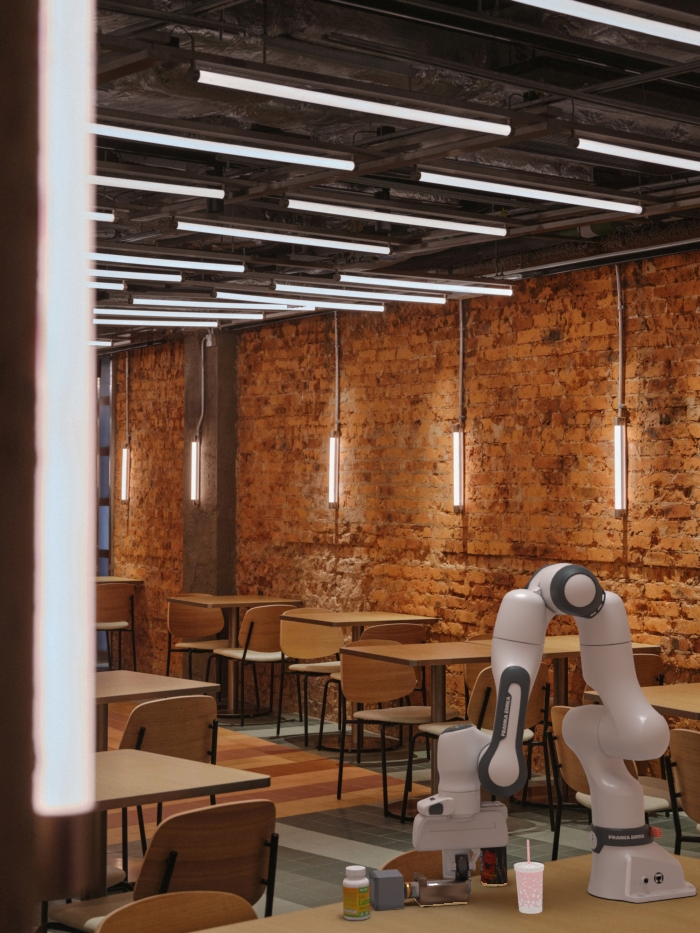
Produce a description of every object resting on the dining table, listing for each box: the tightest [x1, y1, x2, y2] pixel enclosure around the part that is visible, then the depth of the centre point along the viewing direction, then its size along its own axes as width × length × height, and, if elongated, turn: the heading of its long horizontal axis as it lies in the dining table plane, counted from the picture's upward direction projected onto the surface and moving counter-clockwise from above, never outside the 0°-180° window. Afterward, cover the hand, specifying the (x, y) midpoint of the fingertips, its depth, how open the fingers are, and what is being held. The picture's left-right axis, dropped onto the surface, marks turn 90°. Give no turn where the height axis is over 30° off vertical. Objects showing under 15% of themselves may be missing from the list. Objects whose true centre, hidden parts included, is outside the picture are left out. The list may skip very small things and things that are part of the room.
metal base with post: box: [403, 853, 472, 900], centre depth 253 cm, size 14×3×8 cm, turn 99°
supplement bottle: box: [342, 865, 371, 921], centre depth 243 cm, size 5×5×10 cm
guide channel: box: [412, 871, 469, 905], centre depth 253 cm, size 10×6×6 cm, turn 99°
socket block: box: [368, 869, 405, 912], centre depth 251 cm, size 6×6×6 cm
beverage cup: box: [513, 839, 545, 915], centre depth 245 cm, size 6×6×14 cm
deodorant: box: [479, 845, 509, 884], centre depth 268 cm, size 6×6×15 cm
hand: (461, 870), depth 254 cm, fingers closed on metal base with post, 3 cm apart
